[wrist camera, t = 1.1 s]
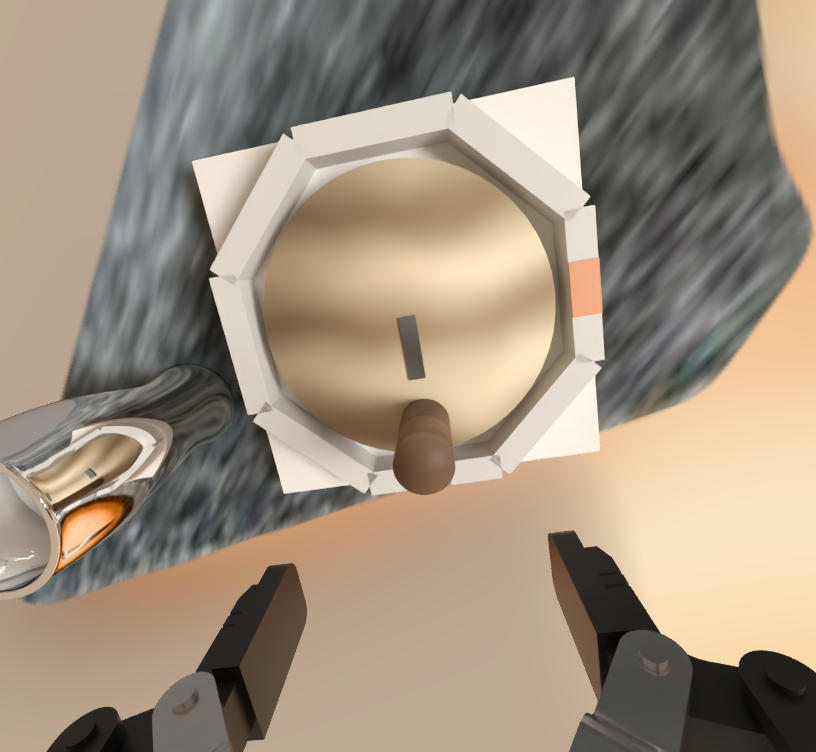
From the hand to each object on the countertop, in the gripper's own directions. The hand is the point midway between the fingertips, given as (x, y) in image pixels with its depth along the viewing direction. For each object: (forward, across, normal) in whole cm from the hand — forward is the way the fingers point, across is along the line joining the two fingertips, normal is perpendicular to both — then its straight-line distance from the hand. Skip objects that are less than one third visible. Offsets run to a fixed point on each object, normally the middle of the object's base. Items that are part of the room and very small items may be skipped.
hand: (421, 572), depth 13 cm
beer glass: (+17, +17, -3) cm, 24 cm away
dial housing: (+17, 0, -7) cm, 18 cm away
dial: (+15, 0, -7) cm, 16 cm away
